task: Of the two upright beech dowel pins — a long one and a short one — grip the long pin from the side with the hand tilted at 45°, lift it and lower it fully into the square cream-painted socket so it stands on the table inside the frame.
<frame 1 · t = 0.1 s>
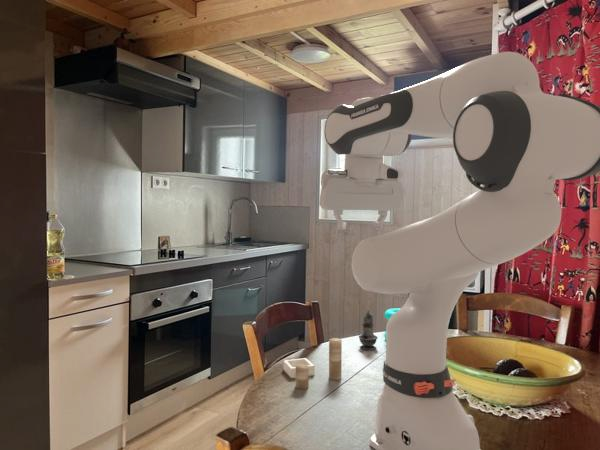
hand: (359, 229, 105), 39 cm above the table, tool pointing down, fingers open, 8 cm apart
socket: (298, 372, 119), on the table
short pin: (302, 387, 109), on the table
dark grey chess piece: (367, 348, 140), on the table
long pin: (335, 378, 115), on the table
donuts: (399, 341, 148), on the table
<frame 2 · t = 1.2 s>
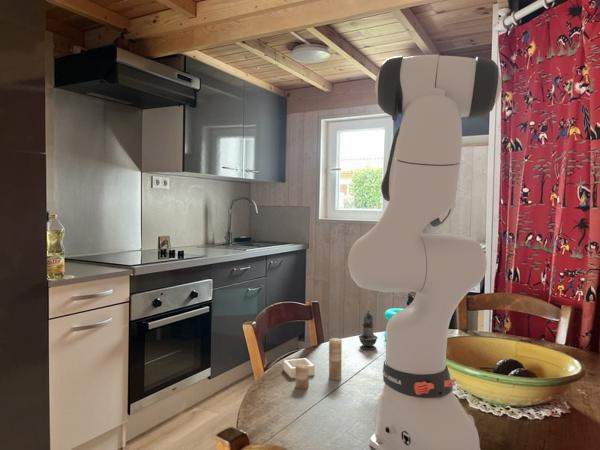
hand: (378, 276, 118), 26 cm above the table, tool tilted 45°, fingers open, 8 cm apart
nothing on the table moved.
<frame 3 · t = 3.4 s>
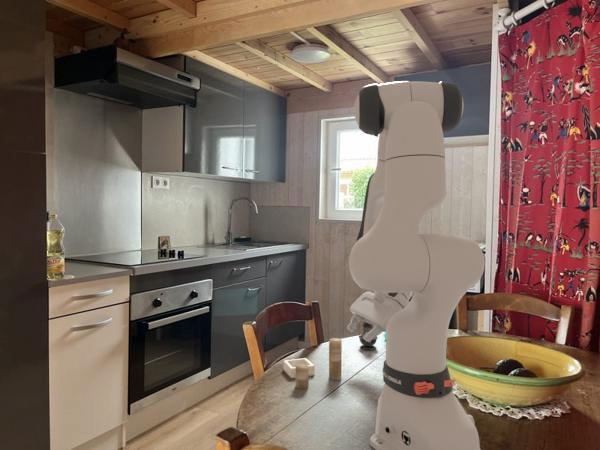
hand: (357, 334, 117), 11 cm above the table, tool tilted 45°, fingers open, 8 cm apart
nothing on the table moved.
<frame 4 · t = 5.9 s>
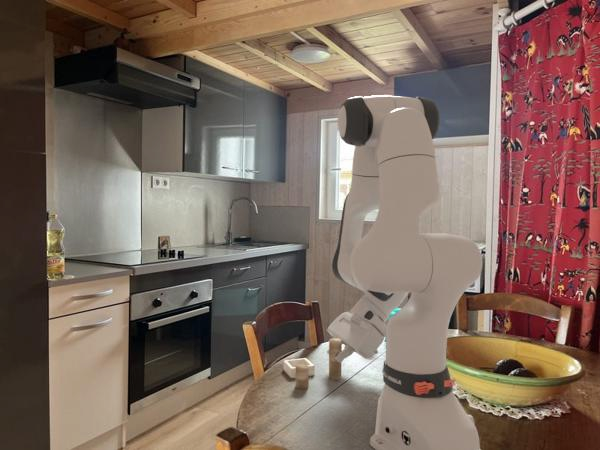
hand: (333, 357, 114), 5 cm above the table, tool tilted 45°, fingers closed on long pin, 3 cm apart
long pin: (335, 378, 115), on the table, touching gripper
everything else where it was.
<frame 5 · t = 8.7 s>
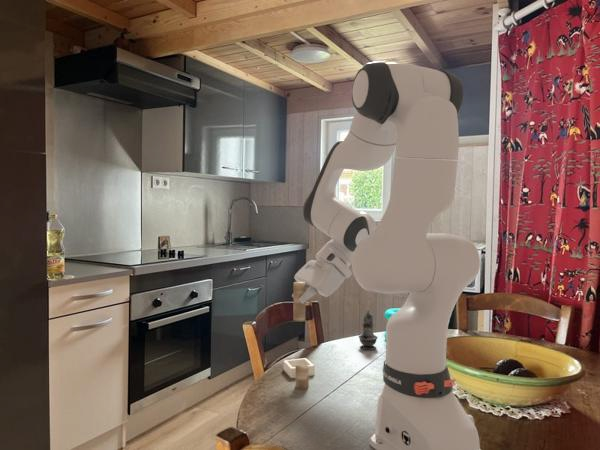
hand: (297, 300, 118), 19 cm above the table, tool tilted 45°, fingers closed on long pin, 3 cm apart
long pin: (299, 319, 119), point 14 cm above the table, touching gripper
everything else where it was.
when the fingers open (7 cm above the table, at t = 11.9 s): long pin drops 1 cm, resting in socket.
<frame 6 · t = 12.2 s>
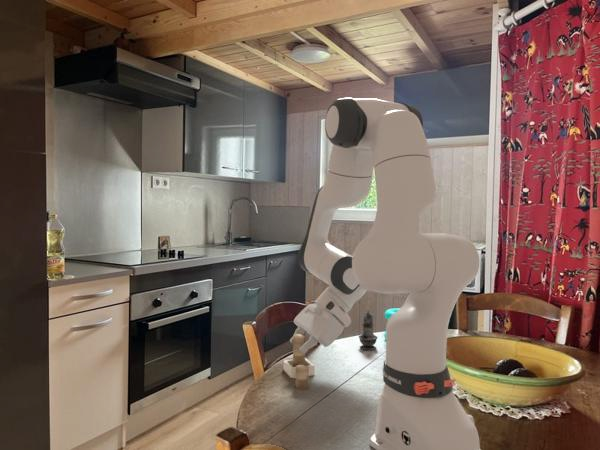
hand: (296, 347, 118), 7 cm above the table, tool tilted 45°, fingers open, 6 cm apart
long pin: (298, 372, 119), resting in socket
everything else where it was.
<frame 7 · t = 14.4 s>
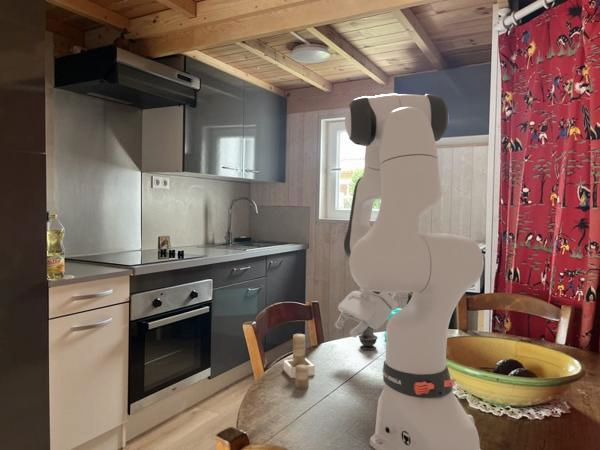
hand: (344, 331, 122), 10 cm above the table, tool tilted 45°, fingers open, 8 cm apart
nothing on the table moved.
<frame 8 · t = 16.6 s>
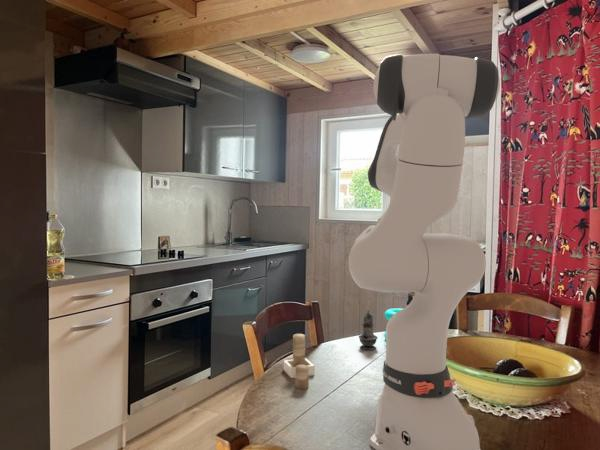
hand: (362, 261, 120), 29 cm above the table, tool tilted 45°, fingers open, 8 cm apart
nothing on the table moved.
at the end: long pin 0.1 cm off-centre on the socket, point 0.0 cm above the socket's base; long pin tilted 0°; the gripper is holding nothing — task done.
